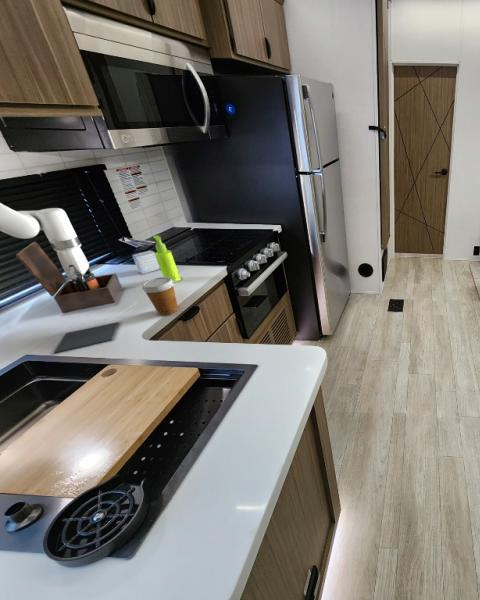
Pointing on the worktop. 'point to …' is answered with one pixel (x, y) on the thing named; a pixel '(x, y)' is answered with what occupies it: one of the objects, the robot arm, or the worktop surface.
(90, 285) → the jar
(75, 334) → the mat
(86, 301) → the chest
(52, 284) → the chest lid
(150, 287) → the disposable coffee cup
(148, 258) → the medicine box
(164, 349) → the worktop surface
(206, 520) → the worktop surface
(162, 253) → the soap dispenser
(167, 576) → the worktop surface
